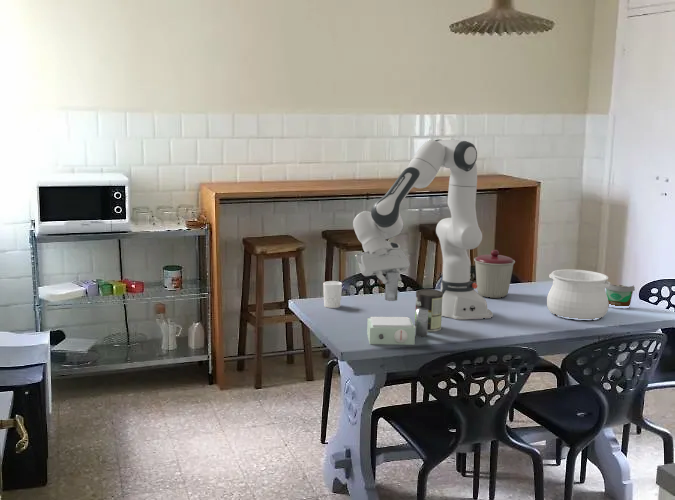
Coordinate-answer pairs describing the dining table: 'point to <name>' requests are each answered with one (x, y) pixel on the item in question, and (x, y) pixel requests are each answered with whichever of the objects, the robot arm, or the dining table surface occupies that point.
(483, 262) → the canister
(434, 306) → the coffee can
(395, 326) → the scale
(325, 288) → the white cup
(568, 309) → the pot
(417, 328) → the spacer
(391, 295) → the cylinder
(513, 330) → the dining table surface
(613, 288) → the food container
